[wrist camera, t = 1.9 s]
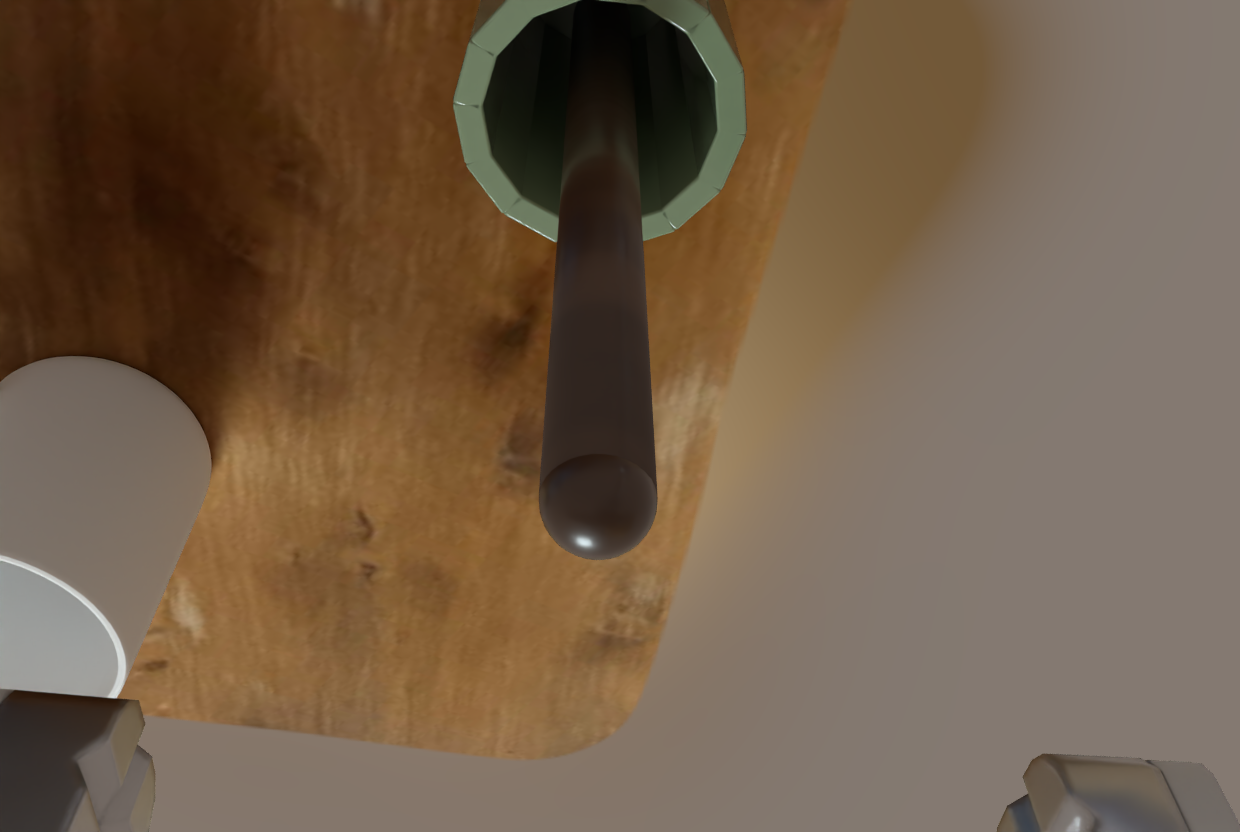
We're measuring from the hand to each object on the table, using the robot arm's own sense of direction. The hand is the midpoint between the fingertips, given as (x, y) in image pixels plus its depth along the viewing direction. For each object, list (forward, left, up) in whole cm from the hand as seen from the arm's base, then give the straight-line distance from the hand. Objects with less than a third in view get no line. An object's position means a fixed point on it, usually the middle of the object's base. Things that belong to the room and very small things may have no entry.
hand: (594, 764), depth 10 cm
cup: (+18, -18, -28) cm, 37 cm away
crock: (0, 0, -27) cm, 27 cm away
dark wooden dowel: (0, 0, -27) cm, 27 cm away
